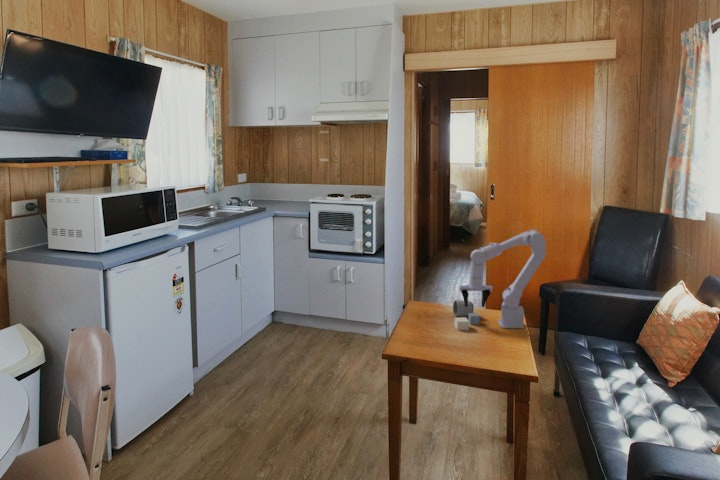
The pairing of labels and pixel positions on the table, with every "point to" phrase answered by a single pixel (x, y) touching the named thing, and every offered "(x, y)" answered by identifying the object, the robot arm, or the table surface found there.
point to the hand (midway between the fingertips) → (474, 306)
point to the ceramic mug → (462, 308)
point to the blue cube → (473, 318)
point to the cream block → (461, 323)
